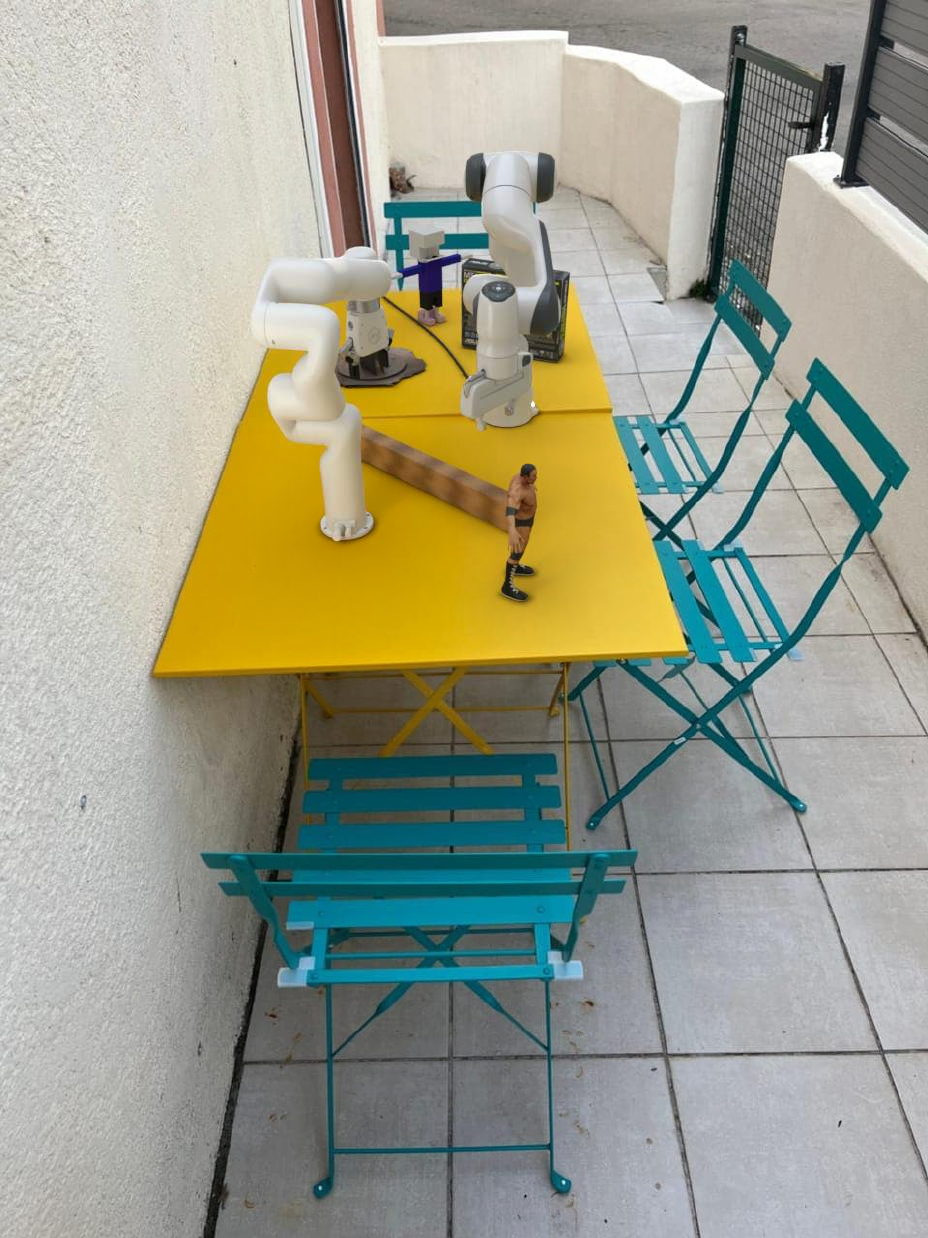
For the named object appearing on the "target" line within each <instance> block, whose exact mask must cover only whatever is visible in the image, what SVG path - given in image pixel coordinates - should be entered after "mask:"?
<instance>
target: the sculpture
mask: <svg viewBox="0 0 928 1238" xmlns="http://www.w3.org/2000/svg"><path fill="white" fill-rule="evenodd" d="M347 354H349V351H347ZM354 356H355V354H354V355H353V357H352V359H354ZM388 359H389V367H388V368H386V367H383V366H381V365H379V364H378V351H377V352H374V353H372V354H369V355H367V356H364V357H360V358H359V360H358V362H357V364H358V365H359V370H360V380H359V381H357V380H355V379H352V378H350V375H349V366H348V363H346V361H344V360H343V359H342V357H341V355H340V354H338V359H337V363H336V367H335V371H334V372H335V374H336V377H337V379H338V381H339V384H340V385H342V386H344V387H346V386H355V385H358V386H359V385H360V386H362V385H363V386H371V385H372V386H376V385H378V386H379V385H388V386H391V385H392V386H394V387H396V386H395V385H394V384H395V383H399V382H400V380H401V379H403V378H407V377H411V376H412V375H414V374H416V373H417V374H418V373H420V372H422V371H424V370H426V362H425V360H424V359H423V358H417V357H416V356H415V355H414V352H413V351H412V350H409V349H408V348H404V347H396V346H390V351H389V352H388ZM393 383H394V384H393Z"/></svg>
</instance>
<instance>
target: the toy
mask: <svg viewBox="0 0 928 1238" xmlns="http://www.w3.org/2000/svg"><path fill="white" fill-rule="evenodd" d="M445 240H446V239H445V230H444V229H442V228H439V227H437V226H434V225H431V224H430V223H429V224H425V225H421V226H417V227H413V228H410V229H408V246H409V247H408V248H409V256H410V257H412V258H414V259H416V261H417V264H415V265H411V266H408V267H404V268H401V269H398V270H397V271H395V272H391V281H395V280H399V279H402V280H403V279H406V278H409V277H413V276H416V275H417V279H418V280H417V281H418V282H417V283H418V293H419V298H418V299H419V308H421V309H420V310H417V312H416V313H417V321H419V322H420V323H421V324H423V325H426V326H428V327H431V326H434V325H436V323H437V324H438V323H439V324H440V323H443V322H445V321H446V316H445V315H444V314H441V313H440V310H439V309H440V308H441V307H443V306H444V305H443V304H444V303H443V268H444V267H448V266H451V265H455V264H458V263H461V262H462V261H466V260H467V259H468V258H474V255H473V253H471V252H468V251H466V252H462V253H460V254H459V253H454V254H451V255H447V256H445V254H440V246H441V245H444V244H445Z"/></svg>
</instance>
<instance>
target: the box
mask: <svg viewBox="0 0 928 1238" xmlns="http://www.w3.org/2000/svg"><path fill="white" fill-rule="evenodd" d="M553 272H554V279H555V285H556V290H557V294H558V297H559V301H560V305H561V317H560V322H559V325H558V327H557V328H556V329H555V330H554V331H553V332H551V333H550V334H549V335H547V336H546V337H541V336H533V335H529V334H522V335H524V337H525V338H526V340H527V342H528V352H529V353H531V354H533V360H538V361H545V362H550V363H557V362H559V360H560V359H561V358H562V356H563V355H564V354H565V343H566V331H567V329H566V328H567V315H568V303H569V293H570V292H569V290H570V279H571V272H568V271H566V270H561V269H554V268H553ZM480 274H494V275H500V276H506V277H507V275H506V273H505V271H504V270H503V269H502V268H501V267H500V266H499V265H498V264H496V263H495V262H494V261H493V260H491V259H481V258H475V257H472V258H468V259H465V260H464V262H463V263H462V264H461V274H460V277H461V281H460V282H461V287H460V288H461V290H460V291H461V292H460V293H461V300H460V301H461V304H460V305H461V347H463V348H468V349H473V350H476V348H477V344H478V334H477V331H476V329H475V328H474V326H473V315H472V314H471V313H470V312H469V311H468V310H467V309H466V307H465V305H464V301H463V290H464V287H465V284H466V283H467V281H468V280H469V279H470V278H471V277H472V276H473V275H480Z"/></svg>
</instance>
